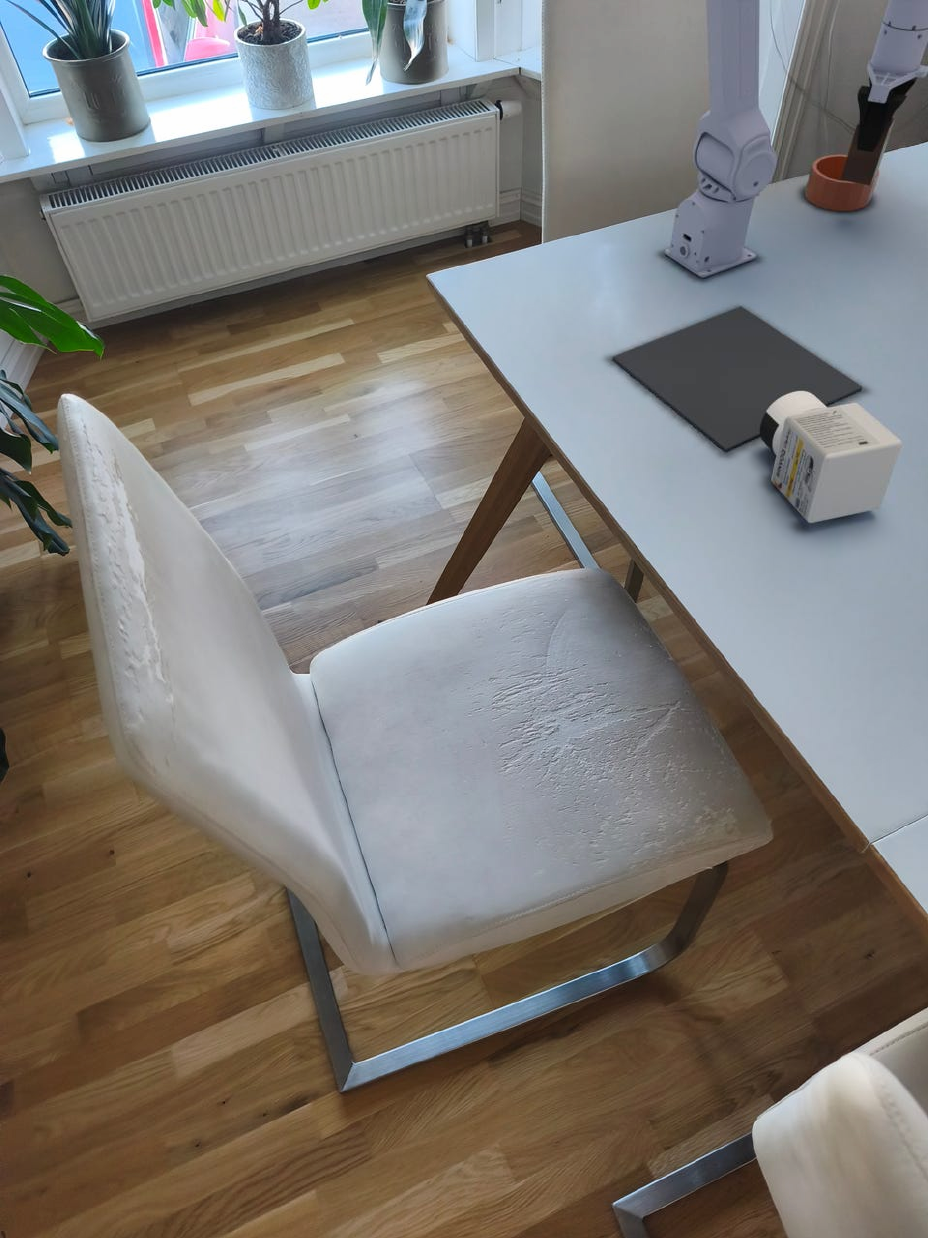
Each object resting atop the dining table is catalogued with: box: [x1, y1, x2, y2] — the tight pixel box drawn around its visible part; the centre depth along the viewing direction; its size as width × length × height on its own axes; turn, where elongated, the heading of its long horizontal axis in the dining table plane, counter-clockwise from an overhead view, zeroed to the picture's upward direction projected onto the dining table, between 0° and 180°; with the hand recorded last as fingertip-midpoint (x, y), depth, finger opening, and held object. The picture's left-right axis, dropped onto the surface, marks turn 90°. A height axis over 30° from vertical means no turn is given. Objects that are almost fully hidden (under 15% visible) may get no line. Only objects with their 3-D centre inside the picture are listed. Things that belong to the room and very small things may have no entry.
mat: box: [611, 306, 863, 452], centre depth 99 cm, size 20×20×1 cm
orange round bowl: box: [804, 154, 880, 212], centre depth 123 cm, size 9×9×4 cm
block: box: [840, 117, 896, 185], centre depth 113 cm, size 4×4×7 cm
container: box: [759, 391, 903, 524], centre depth 84 cm, size 8×8×13 cm
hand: (869, 143), depth 112 cm, fingers closed on block, 4 cm apart
